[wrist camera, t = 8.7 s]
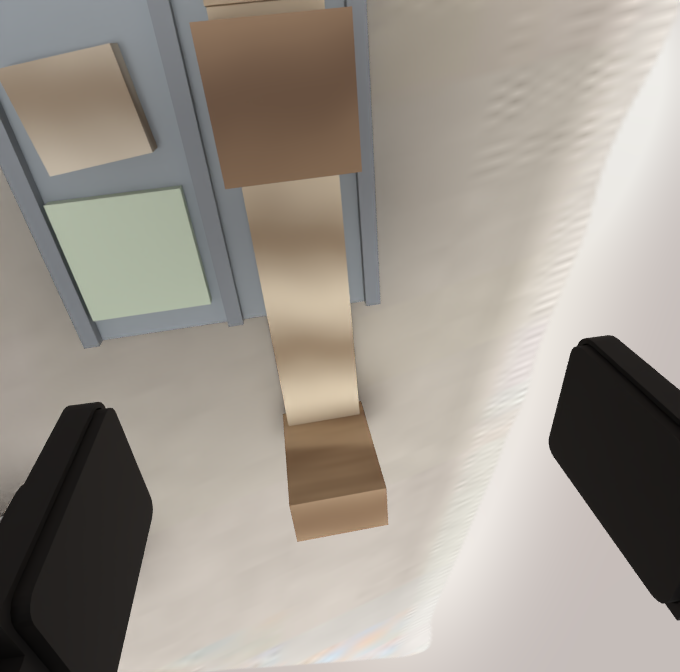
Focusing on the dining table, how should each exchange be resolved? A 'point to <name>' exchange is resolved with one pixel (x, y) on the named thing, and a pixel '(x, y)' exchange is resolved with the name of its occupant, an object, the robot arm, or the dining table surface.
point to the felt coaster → (131, 251)
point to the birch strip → (312, 338)
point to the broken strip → (79, 108)
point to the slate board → (167, 155)
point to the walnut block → (281, 95)
